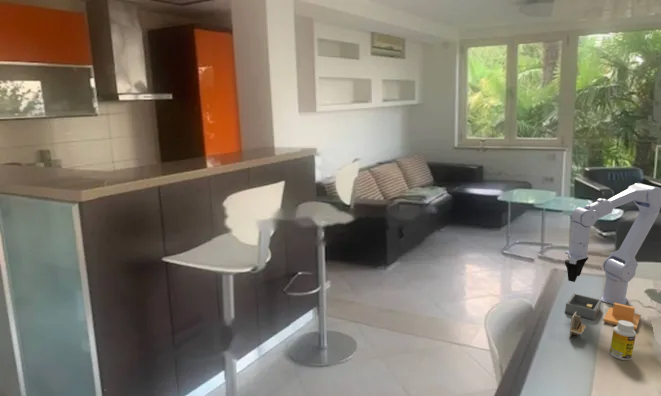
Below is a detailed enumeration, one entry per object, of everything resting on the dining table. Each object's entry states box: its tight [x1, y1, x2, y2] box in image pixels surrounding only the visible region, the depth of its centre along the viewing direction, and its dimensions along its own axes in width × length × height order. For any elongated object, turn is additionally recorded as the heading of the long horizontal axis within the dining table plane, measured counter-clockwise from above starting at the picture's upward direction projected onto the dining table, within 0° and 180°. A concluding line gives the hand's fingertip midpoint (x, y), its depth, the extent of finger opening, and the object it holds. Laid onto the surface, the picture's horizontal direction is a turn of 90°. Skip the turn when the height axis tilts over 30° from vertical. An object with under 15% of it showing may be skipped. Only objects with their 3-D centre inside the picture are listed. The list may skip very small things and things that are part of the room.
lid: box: [602, 303, 642, 331], centre depth 167 cm, size 12×9×6 cm
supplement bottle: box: [609, 320, 637, 361], centre depth 143 cm, size 6×6×10 cm
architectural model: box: [568, 311, 587, 339], centre depth 154 cm, size 3×7×7 cm, turn 143°
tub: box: [564, 292, 603, 322], centre depth 174 cm, size 12×9×4 cm
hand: (574, 278), depth 179 cm, fingers open, 7 cm apart
